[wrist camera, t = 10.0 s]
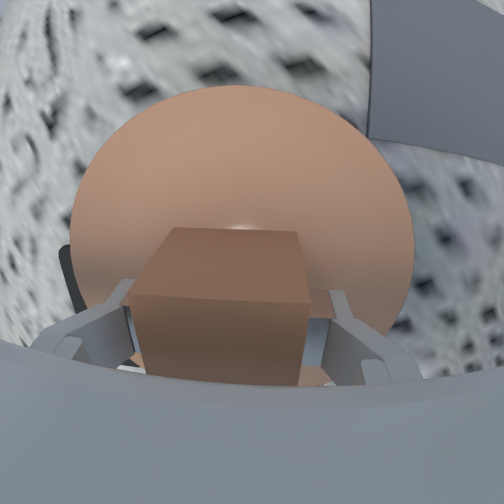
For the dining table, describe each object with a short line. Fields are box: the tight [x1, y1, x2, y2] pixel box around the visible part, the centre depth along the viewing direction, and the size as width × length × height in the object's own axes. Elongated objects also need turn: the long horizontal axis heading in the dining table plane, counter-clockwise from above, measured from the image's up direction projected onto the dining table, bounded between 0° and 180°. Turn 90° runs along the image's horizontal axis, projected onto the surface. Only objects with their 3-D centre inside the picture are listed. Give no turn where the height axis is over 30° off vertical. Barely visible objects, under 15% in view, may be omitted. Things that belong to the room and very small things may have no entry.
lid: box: [70, 85, 415, 386], centre depth 10 cm, size 13×13×5 cm
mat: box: [367, 0, 504, 166], centre depth 18 cm, size 15×15×1 cm
